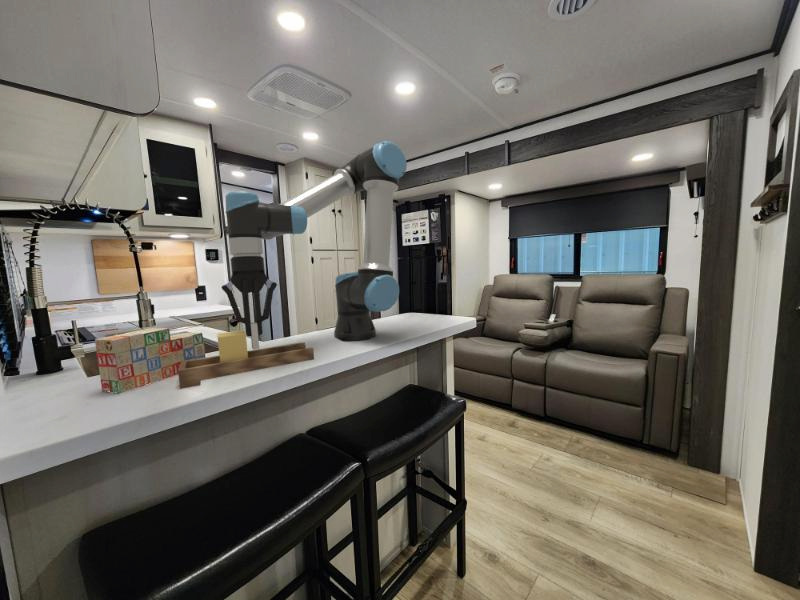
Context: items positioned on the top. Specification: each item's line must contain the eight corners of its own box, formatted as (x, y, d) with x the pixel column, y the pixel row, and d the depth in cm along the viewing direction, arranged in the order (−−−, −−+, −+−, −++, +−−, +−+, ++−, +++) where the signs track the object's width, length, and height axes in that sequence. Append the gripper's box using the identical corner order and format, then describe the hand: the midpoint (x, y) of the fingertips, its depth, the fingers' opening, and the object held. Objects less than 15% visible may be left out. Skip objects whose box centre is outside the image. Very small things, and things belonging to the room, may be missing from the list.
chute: (305, 355, 94) (304, 342, 94) (314, 362, 86) (313, 348, 86) (182, 377, 79) (181, 361, 79) (180, 388, 71) (177, 371, 71)
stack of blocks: (190, 364, 92) (185, 321, 90) (206, 365, 90) (202, 321, 89) (101, 392, 71) (93, 338, 70) (120, 394, 70) (112, 339, 68)
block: (246, 363, 85) (243, 330, 84) (249, 369, 80) (245, 333, 79) (220, 368, 82) (217, 333, 81) (221, 374, 77) (217, 337, 76)
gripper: (272, 256, 87) (279, 341, 89) (217, 257, 80) (226, 349, 83) (277, 254, 81) (284, 346, 83) (217, 255, 74) (228, 355, 76)
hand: (255, 347), depth 83 cm, fingers closed
